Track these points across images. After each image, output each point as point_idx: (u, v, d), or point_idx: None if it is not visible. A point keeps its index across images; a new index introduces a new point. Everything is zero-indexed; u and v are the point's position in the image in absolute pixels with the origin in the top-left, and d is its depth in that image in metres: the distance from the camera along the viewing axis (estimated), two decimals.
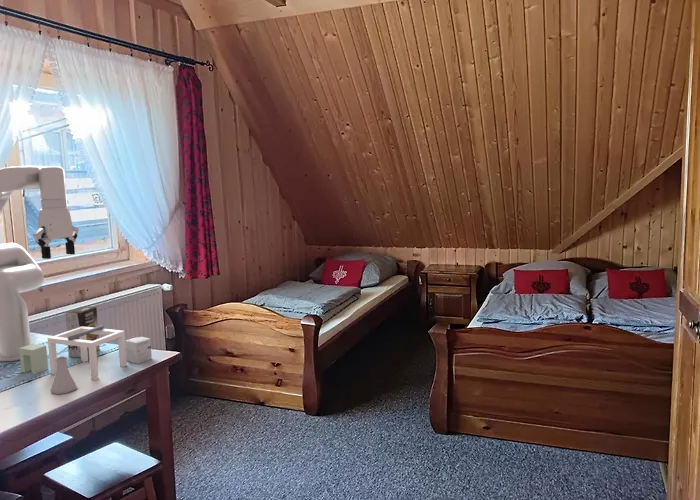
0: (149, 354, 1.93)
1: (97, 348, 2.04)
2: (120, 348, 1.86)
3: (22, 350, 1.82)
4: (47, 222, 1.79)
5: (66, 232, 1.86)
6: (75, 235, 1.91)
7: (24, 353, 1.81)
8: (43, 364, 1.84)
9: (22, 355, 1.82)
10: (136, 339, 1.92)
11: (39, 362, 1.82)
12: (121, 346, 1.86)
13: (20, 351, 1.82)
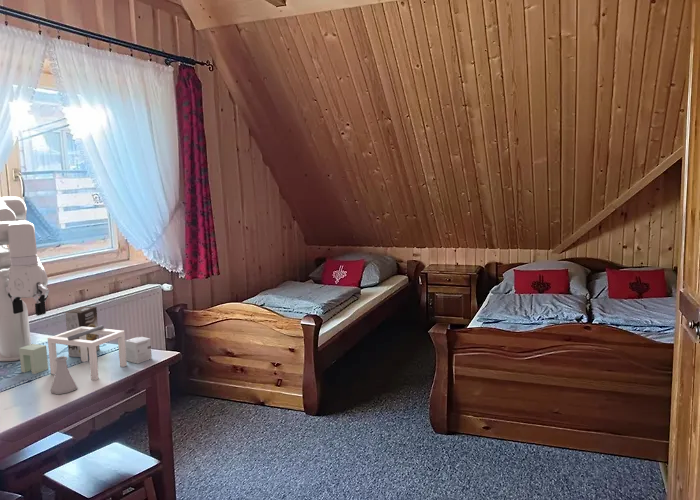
0: (149, 354, 1.93)
1: (97, 348, 2.04)
2: (120, 348, 1.86)
3: (22, 350, 1.82)
4: (41, 277, 1.80)
5: None
6: None
7: (24, 353, 1.81)
8: (43, 364, 1.84)
9: (22, 355, 1.82)
10: (136, 339, 1.92)
11: (39, 362, 1.82)
12: (121, 346, 1.86)
13: (20, 351, 1.82)
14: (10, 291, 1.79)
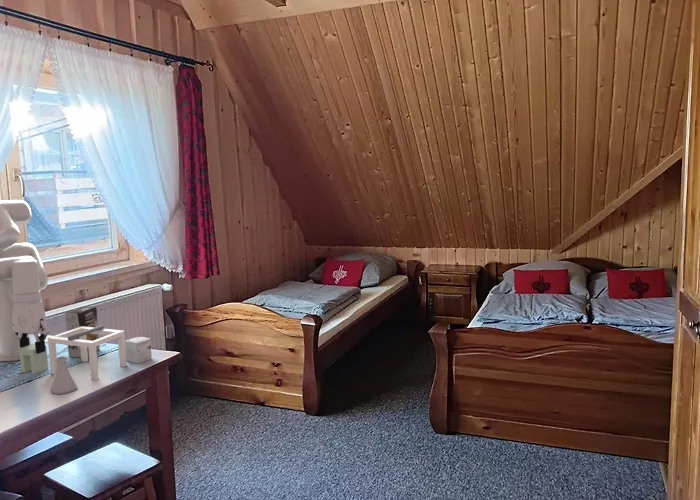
0: (149, 354, 1.93)
1: (97, 348, 2.04)
2: (120, 348, 1.86)
3: (22, 350, 1.82)
4: (44, 313, 1.82)
5: None
6: None
7: (24, 353, 1.81)
8: (43, 364, 1.84)
9: (22, 355, 1.82)
10: (136, 339, 1.92)
11: (39, 362, 1.82)
12: (121, 346, 1.86)
13: (20, 351, 1.82)
14: (13, 327, 1.81)
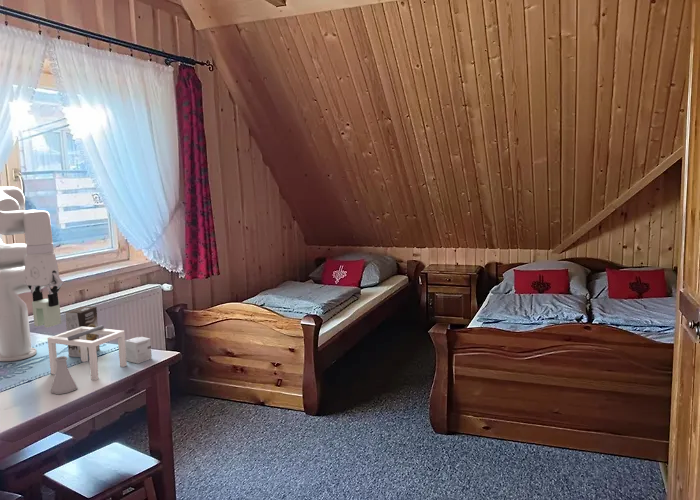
0: (149, 354, 1.93)
1: (97, 348, 2.04)
2: (120, 348, 1.86)
3: (35, 303, 1.79)
4: (57, 266, 1.79)
5: None
6: None
7: (37, 306, 1.79)
8: (56, 318, 1.81)
9: (35, 309, 1.79)
10: (136, 339, 1.92)
11: (52, 316, 1.80)
12: (121, 346, 1.86)
13: (33, 304, 1.79)
14: (26, 280, 1.79)
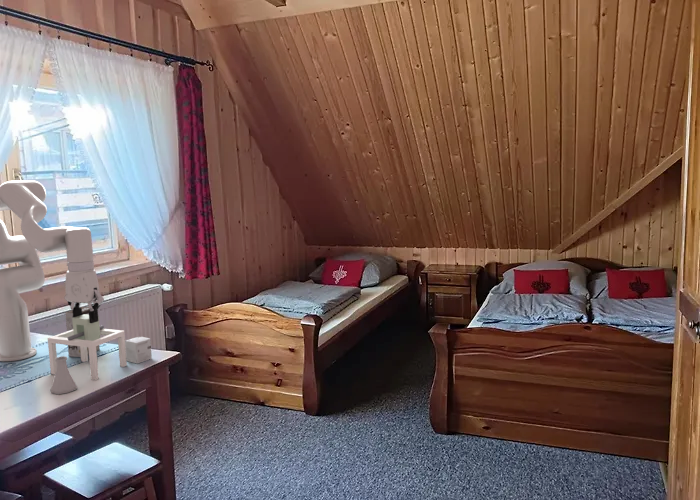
0: (149, 354, 1.93)
1: (97, 348, 2.04)
2: (120, 348, 1.86)
3: (75, 320, 1.80)
4: (97, 282, 1.80)
5: None
6: None
7: (77, 323, 1.80)
8: (95, 334, 1.82)
9: (75, 325, 1.80)
10: (136, 339, 1.92)
11: (92, 332, 1.81)
12: (121, 346, 1.86)
13: (73, 321, 1.80)
14: (67, 296, 1.80)
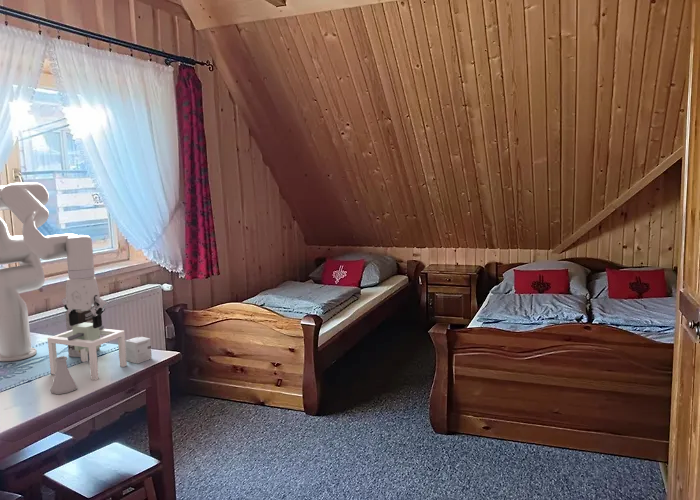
0: (149, 354, 1.93)
1: (97, 348, 2.04)
2: (120, 348, 1.86)
3: (75, 328, 1.80)
4: (98, 290, 1.80)
5: None
6: None
7: (77, 331, 1.80)
8: None
9: (75, 333, 1.81)
10: (136, 339, 1.92)
11: (92, 340, 1.81)
12: (121, 346, 1.86)
13: (73, 329, 1.81)
14: (67, 303, 1.80)
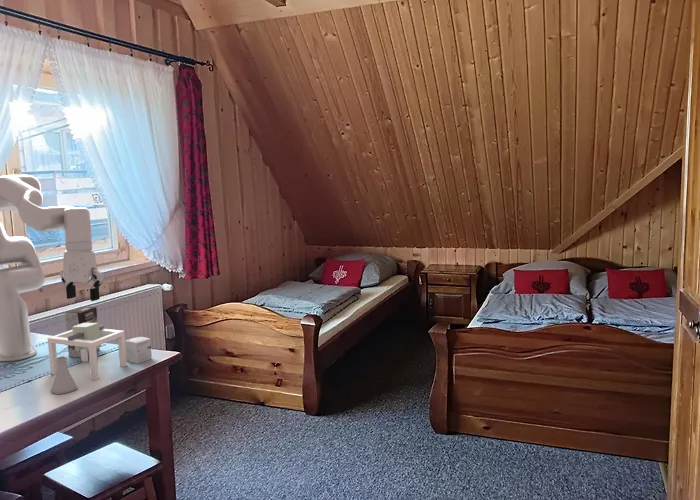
0: (149, 354, 1.93)
1: (97, 348, 2.04)
2: (120, 348, 1.86)
3: (75, 328, 1.80)
4: (95, 263, 1.79)
5: None
6: None
7: (77, 331, 1.80)
8: None
9: (75, 333, 1.81)
10: (136, 339, 1.92)
11: (93, 339, 1.81)
12: (121, 346, 1.86)
13: (73, 329, 1.81)
14: (64, 276, 1.79)
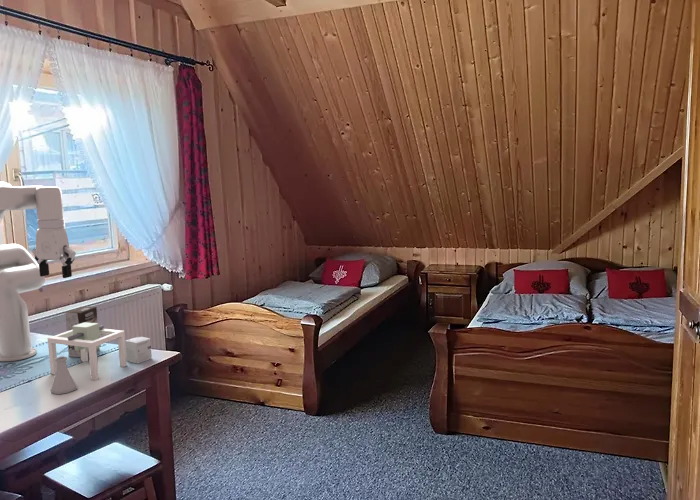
0: (149, 354, 1.93)
1: (97, 348, 2.04)
2: (120, 348, 1.86)
3: (75, 328, 1.80)
4: (67, 241, 1.83)
5: None
6: None
7: (77, 331, 1.80)
8: None
9: (75, 333, 1.81)
10: (136, 339, 1.92)
11: (92, 340, 1.81)
12: (121, 346, 1.86)
13: (73, 329, 1.81)
14: (37, 254, 1.83)
